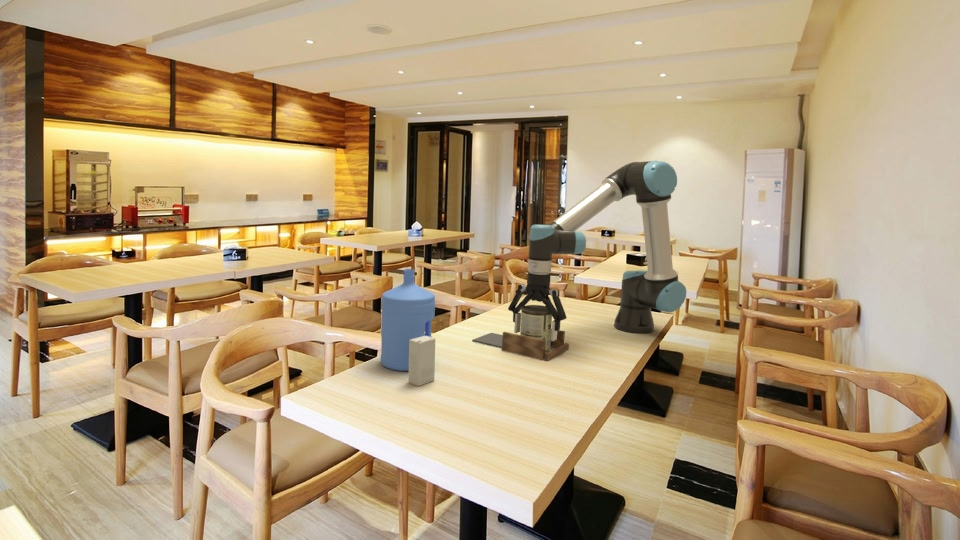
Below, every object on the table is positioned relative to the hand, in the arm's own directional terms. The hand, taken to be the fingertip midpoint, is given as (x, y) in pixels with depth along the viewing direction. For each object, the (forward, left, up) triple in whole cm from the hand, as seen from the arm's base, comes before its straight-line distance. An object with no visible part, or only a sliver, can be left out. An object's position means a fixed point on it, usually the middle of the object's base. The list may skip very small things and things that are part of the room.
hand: (535, 336), depth 172 cm
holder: (0, 0, -5) cm, 5 cm away
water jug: (+23, +37, -5) cm, 44 cm away
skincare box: (+10, +46, -5) cm, 47 cm away
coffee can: (0, 0, -5) cm, 5 cm away
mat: (+15, 0, -5) cm, 16 cm away
